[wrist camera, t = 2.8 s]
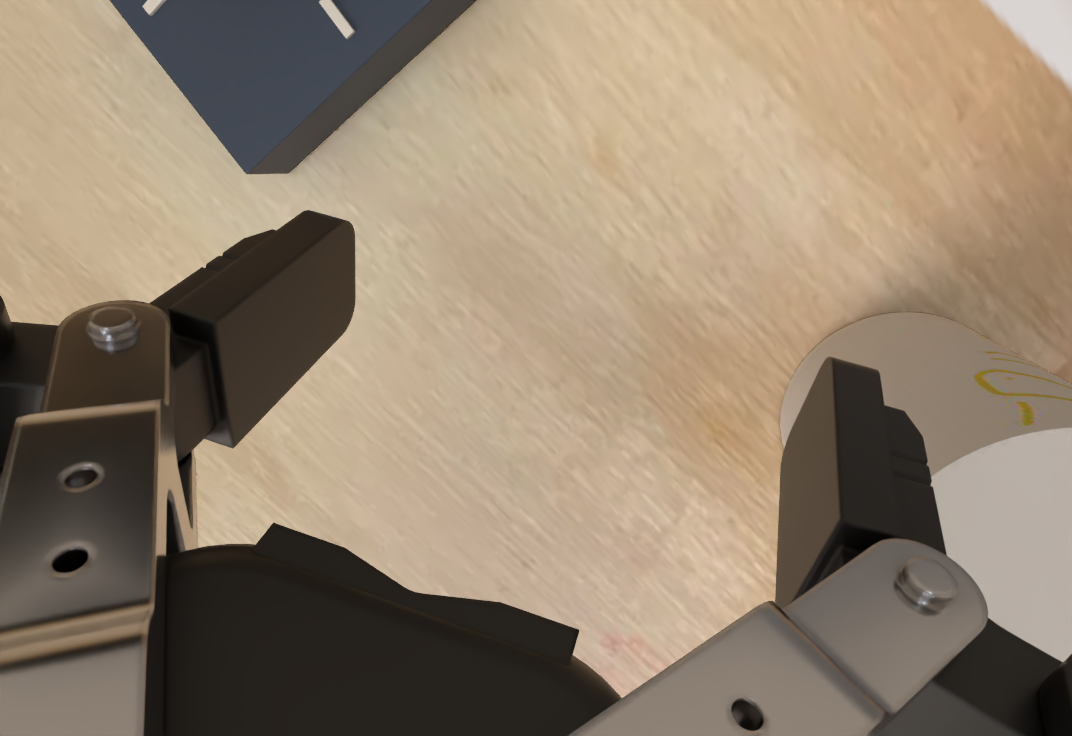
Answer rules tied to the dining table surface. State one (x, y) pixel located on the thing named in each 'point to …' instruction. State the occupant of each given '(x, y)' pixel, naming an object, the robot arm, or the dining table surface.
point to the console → (283, 63)
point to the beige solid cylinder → (978, 457)
